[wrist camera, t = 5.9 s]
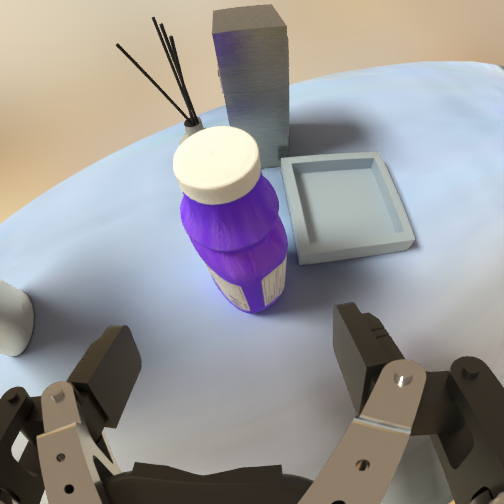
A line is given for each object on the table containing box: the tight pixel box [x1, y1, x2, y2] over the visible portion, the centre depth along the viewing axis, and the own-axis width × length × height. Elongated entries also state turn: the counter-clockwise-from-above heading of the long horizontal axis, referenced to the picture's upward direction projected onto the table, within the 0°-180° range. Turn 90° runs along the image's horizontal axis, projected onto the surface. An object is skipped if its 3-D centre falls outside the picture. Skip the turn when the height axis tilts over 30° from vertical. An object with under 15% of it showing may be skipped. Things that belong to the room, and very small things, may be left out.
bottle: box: [173, 126, 288, 313], centre depth 21 cm, size 7×6×17 cm
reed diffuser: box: [116, 17, 207, 145], centre depth 27 cm, size 10×7×20 cm
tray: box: [281, 152, 415, 266], centre depth 30 cm, size 12×12×2 cm
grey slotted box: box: [212, 5, 289, 168], centre depth 28 cm, size 7×8×18 cm
